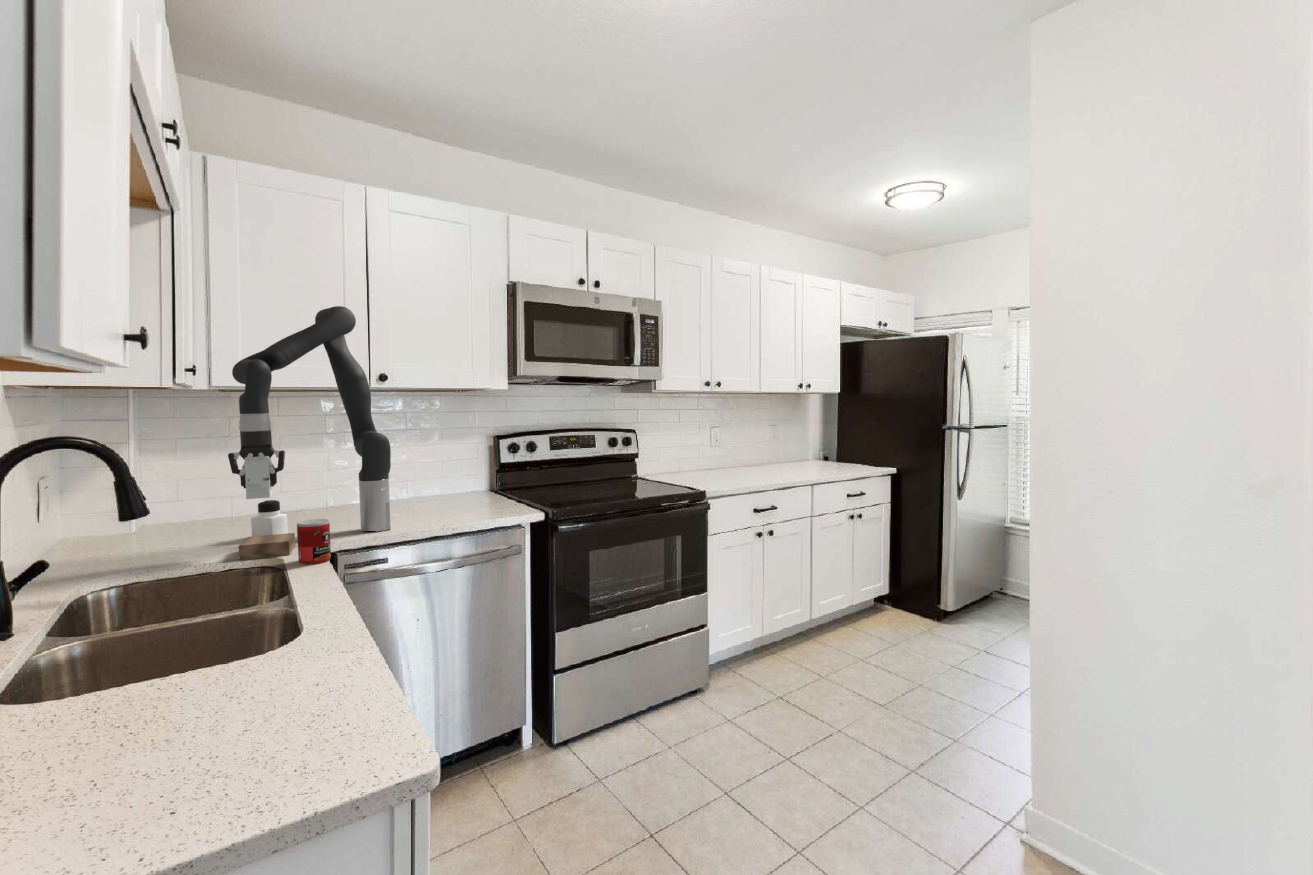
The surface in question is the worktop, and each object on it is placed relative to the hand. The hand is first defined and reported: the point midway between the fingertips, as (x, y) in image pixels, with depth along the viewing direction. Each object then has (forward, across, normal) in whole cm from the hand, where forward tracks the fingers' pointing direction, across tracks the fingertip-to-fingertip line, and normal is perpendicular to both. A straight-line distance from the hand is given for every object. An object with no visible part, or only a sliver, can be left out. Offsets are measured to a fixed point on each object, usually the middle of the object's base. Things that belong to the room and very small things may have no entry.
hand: (259, 486), depth 174 cm
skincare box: (+3, 0, 0) cm, 3 cm away
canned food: (+19, -15, +18) cm, 31 cm away
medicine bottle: (+19, +2, -21) cm, 29 cm away
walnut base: (+19, -2, +2) cm, 19 cm away
